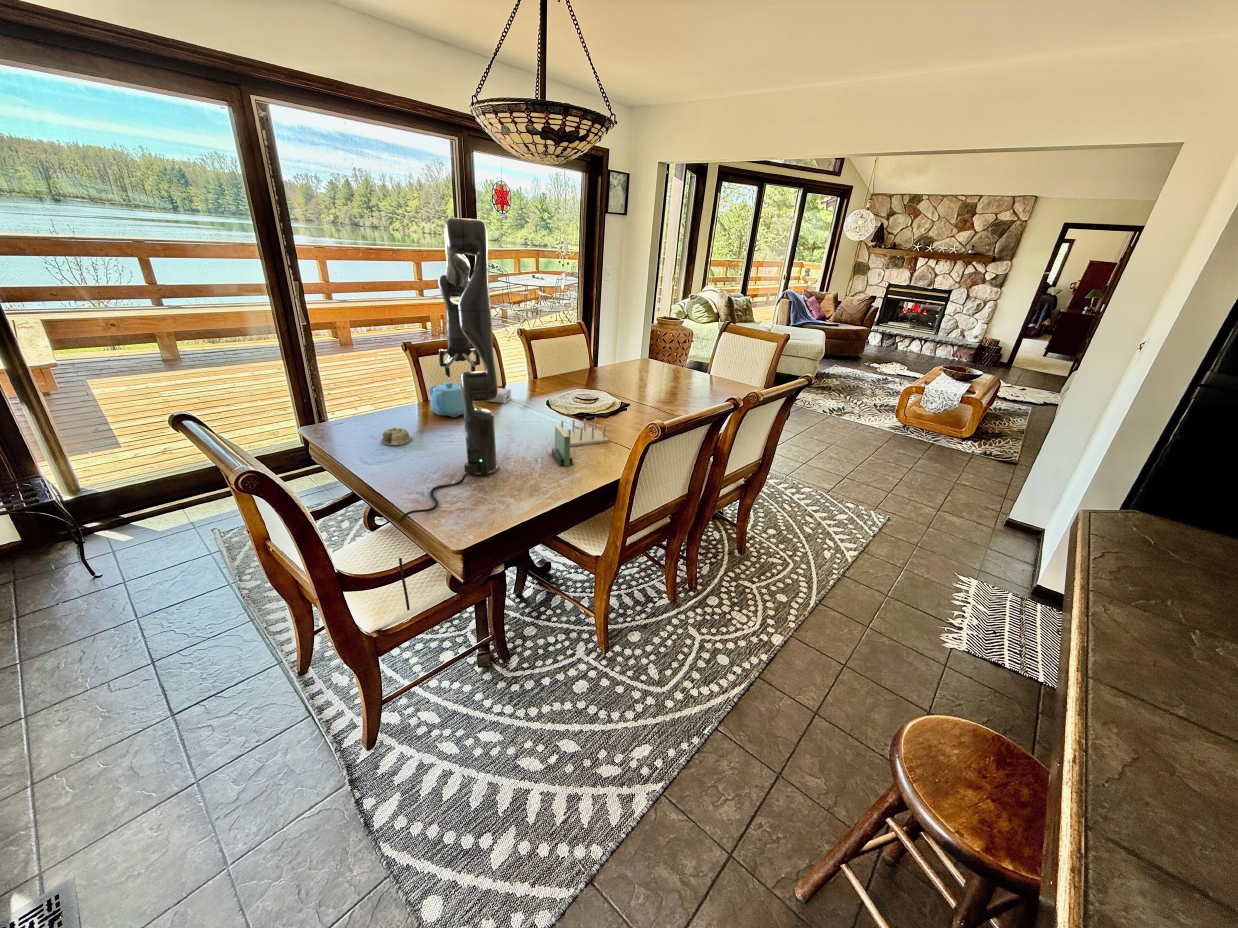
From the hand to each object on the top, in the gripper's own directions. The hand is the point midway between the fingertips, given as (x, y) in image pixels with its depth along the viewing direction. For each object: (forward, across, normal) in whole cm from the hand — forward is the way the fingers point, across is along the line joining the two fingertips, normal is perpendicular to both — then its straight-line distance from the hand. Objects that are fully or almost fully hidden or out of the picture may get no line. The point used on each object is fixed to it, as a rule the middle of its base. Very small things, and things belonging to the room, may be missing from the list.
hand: (460, 375), depth 180 cm
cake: (+22, -25, -6) cm, 34 cm away
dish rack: (+19, +42, -22) cm, 52 cm away
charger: (+28, +18, +33) cm, 46 cm away
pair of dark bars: (+17, +28, -39) cm, 51 cm away
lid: (+17, +28, -39) cm, 51 cm away
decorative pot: (+26, -2, +19) cm, 32 cm away
